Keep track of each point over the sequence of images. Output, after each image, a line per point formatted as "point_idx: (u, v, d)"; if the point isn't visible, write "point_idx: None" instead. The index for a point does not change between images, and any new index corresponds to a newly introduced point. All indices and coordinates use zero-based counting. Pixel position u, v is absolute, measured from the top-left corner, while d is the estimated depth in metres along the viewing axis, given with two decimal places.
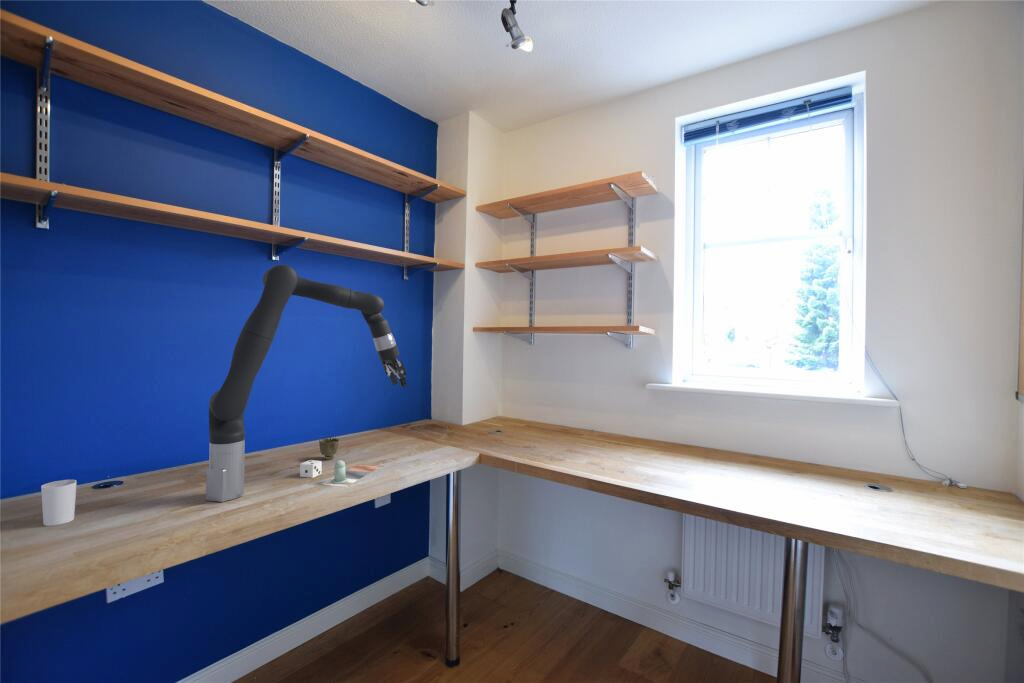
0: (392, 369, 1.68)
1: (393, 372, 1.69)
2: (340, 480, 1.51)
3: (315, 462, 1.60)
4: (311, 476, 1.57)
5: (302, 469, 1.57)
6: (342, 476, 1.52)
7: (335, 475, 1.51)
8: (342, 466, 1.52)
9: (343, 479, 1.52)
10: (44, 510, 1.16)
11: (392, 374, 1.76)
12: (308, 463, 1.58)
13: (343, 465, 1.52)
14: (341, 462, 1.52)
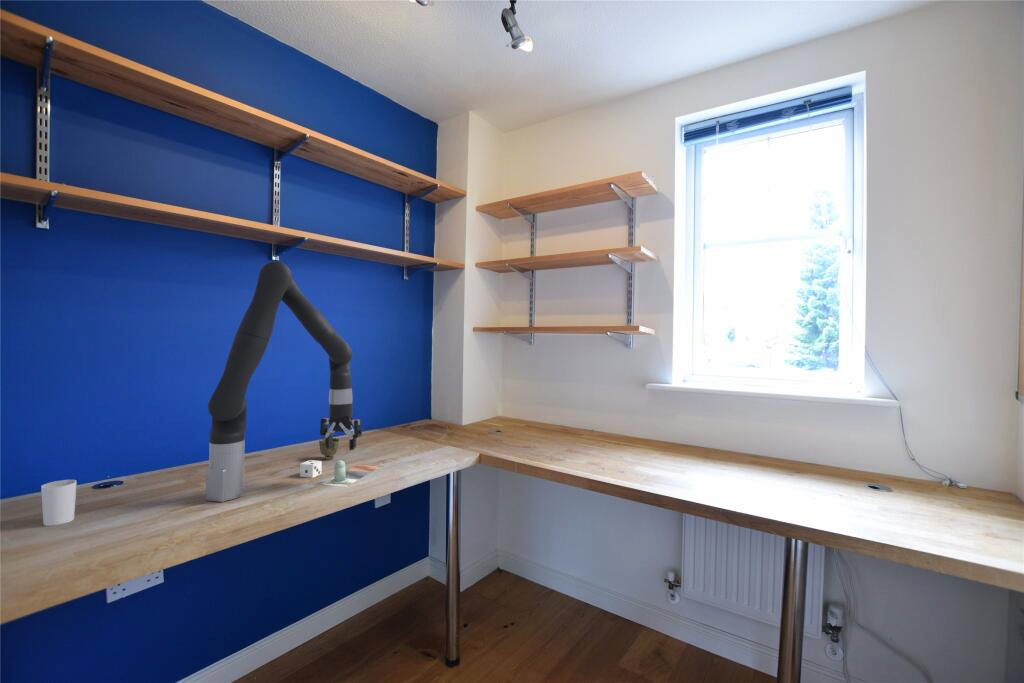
0: (345, 428, 1.50)
1: (344, 431, 1.50)
2: (340, 480, 1.51)
3: (315, 462, 1.60)
4: (311, 476, 1.57)
5: (302, 469, 1.57)
6: (342, 476, 1.52)
7: (335, 475, 1.51)
8: (342, 466, 1.52)
9: (343, 479, 1.52)
10: (44, 510, 1.16)
11: (330, 436, 1.54)
12: (308, 463, 1.58)
13: (343, 465, 1.52)
14: (341, 462, 1.52)
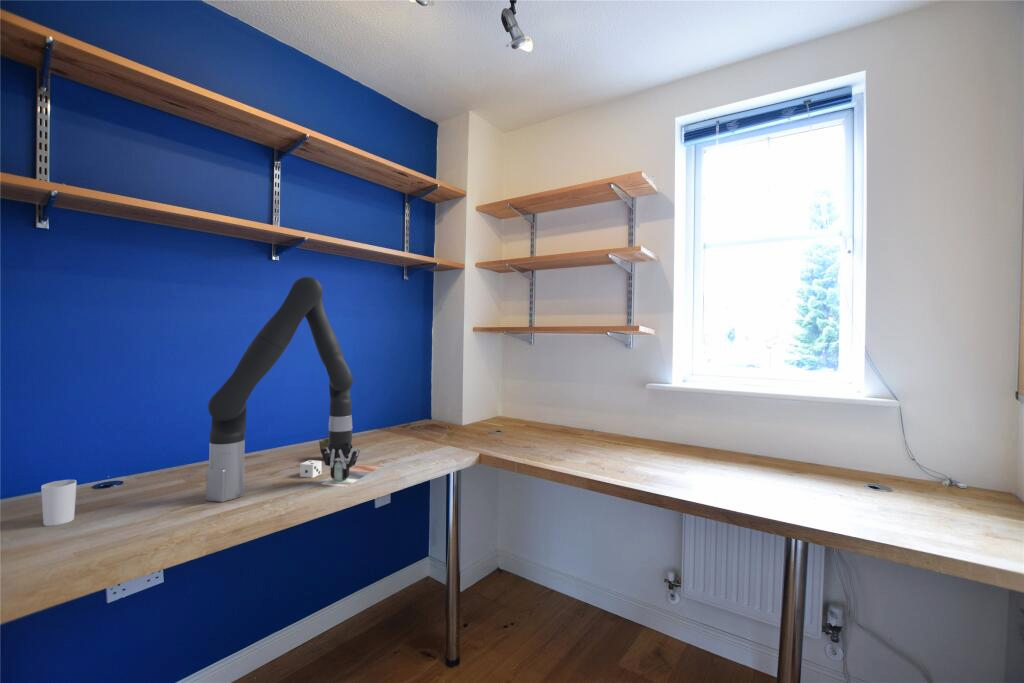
0: (342, 456, 1.51)
1: (341, 459, 1.51)
2: (340, 480, 1.51)
3: (315, 462, 1.60)
4: (311, 476, 1.57)
5: (302, 469, 1.57)
6: (342, 476, 1.52)
7: (335, 475, 1.51)
8: (342, 466, 1.52)
9: None
10: (44, 510, 1.16)
11: None
12: (308, 463, 1.58)
13: None
14: (341, 462, 1.52)
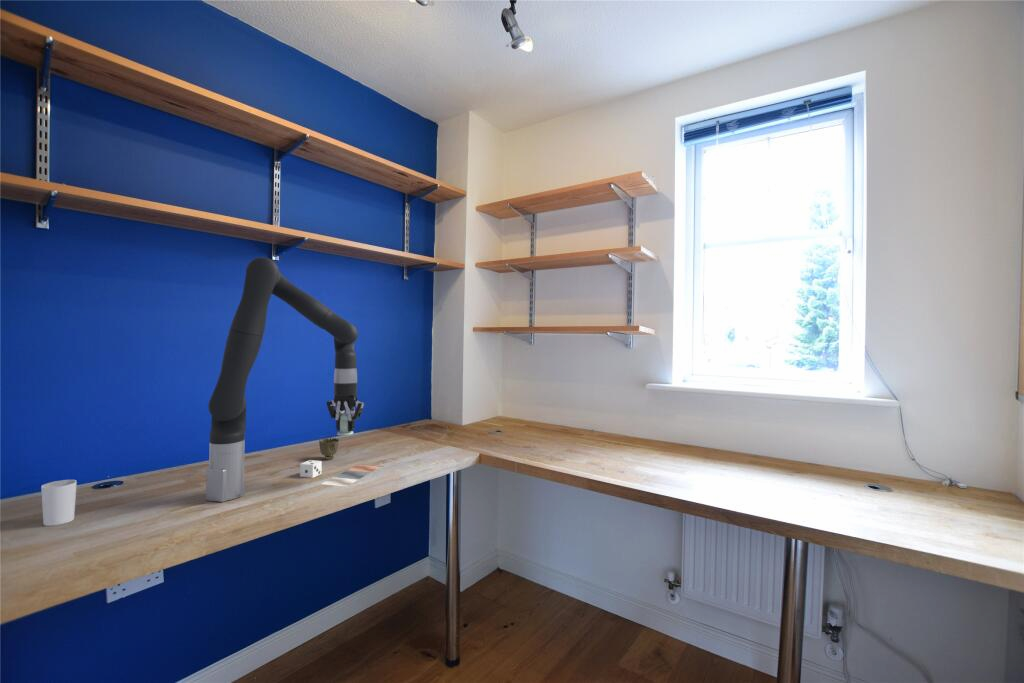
0: (347, 408, 1.53)
1: (346, 411, 1.53)
2: (346, 432, 1.53)
3: (315, 462, 1.60)
4: (311, 476, 1.57)
5: (302, 469, 1.57)
6: (347, 428, 1.54)
7: (341, 427, 1.53)
8: (347, 418, 1.54)
9: None
10: (44, 510, 1.16)
11: None
12: (308, 463, 1.58)
13: None
14: (346, 414, 1.54)
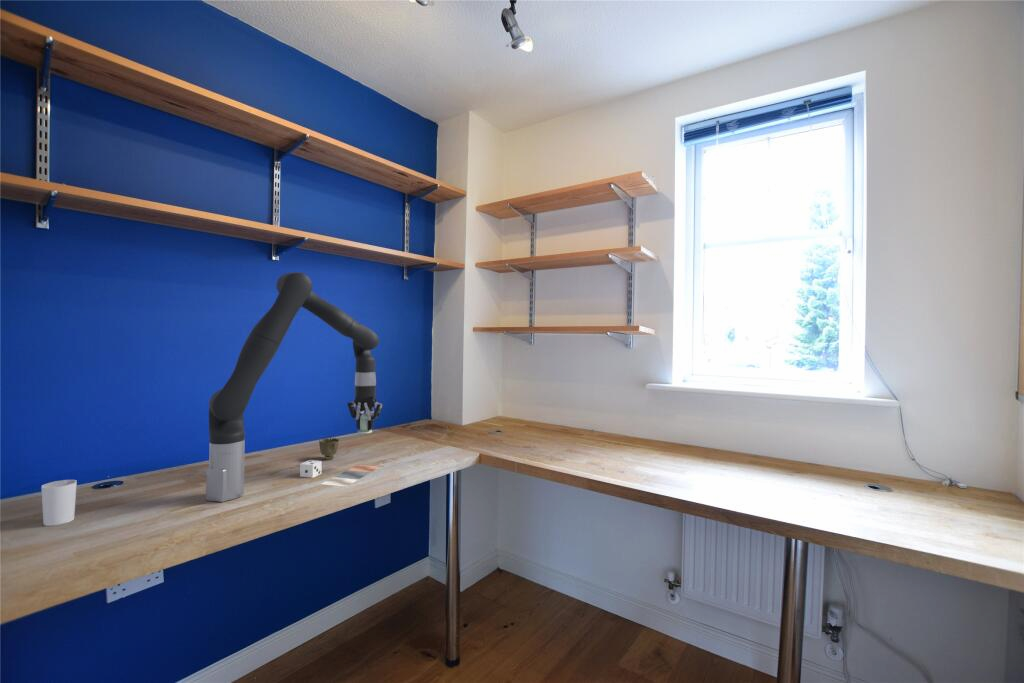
0: (367, 408, 1.66)
1: (366, 411, 1.66)
2: (365, 430, 1.67)
3: (315, 462, 1.60)
4: (311, 476, 1.57)
5: (302, 469, 1.57)
6: (367, 427, 1.67)
7: (361, 426, 1.67)
8: (367, 418, 1.67)
9: (368, 430, 1.67)
10: (44, 510, 1.16)
11: None
12: (308, 463, 1.58)
13: None
14: (366, 414, 1.67)
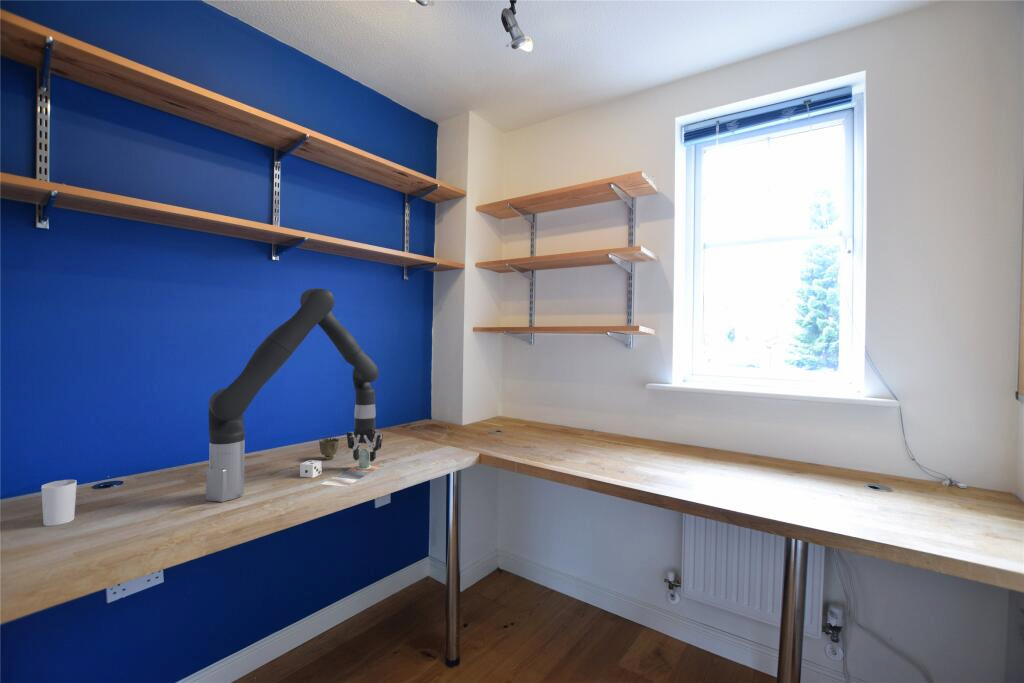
0: (368, 440, 1.66)
1: (367, 443, 1.66)
2: (365, 467, 1.67)
3: (315, 462, 1.60)
4: (311, 476, 1.57)
5: (302, 469, 1.57)
6: (366, 463, 1.67)
7: (360, 462, 1.67)
8: (366, 454, 1.67)
9: (367, 466, 1.68)
10: (44, 510, 1.16)
11: (357, 448, 1.69)
12: (308, 463, 1.58)
13: (367, 453, 1.68)
14: (365, 450, 1.68)
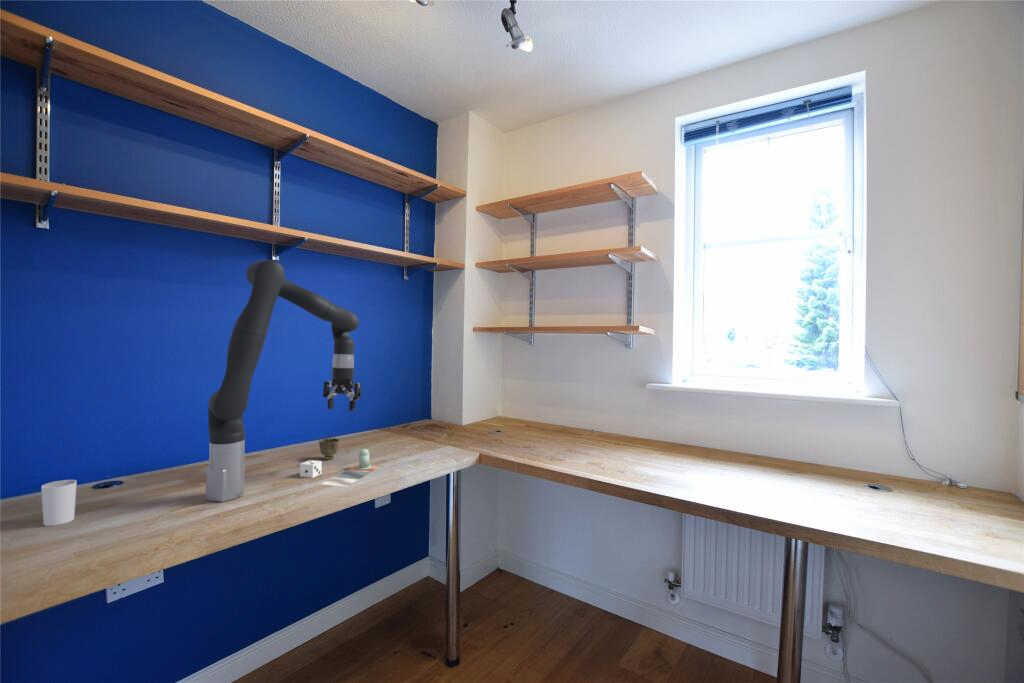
0: (346, 390, 1.64)
1: (345, 393, 1.64)
2: (364, 467, 1.67)
3: (315, 462, 1.60)
4: (311, 476, 1.57)
5: (302, 469, 1.57)
6: (366, 463, 1.67)
7: (360, 462, 1.67)
8: (366, 454, 1.67)
9: (367, 466, 1.68)
10: (44, 510, 1.15)
11: (332, 397, 1.67)
12: (308, 463, 1.58)
13: (367, 453, 1.68)
14: (365, 450, 1.68)
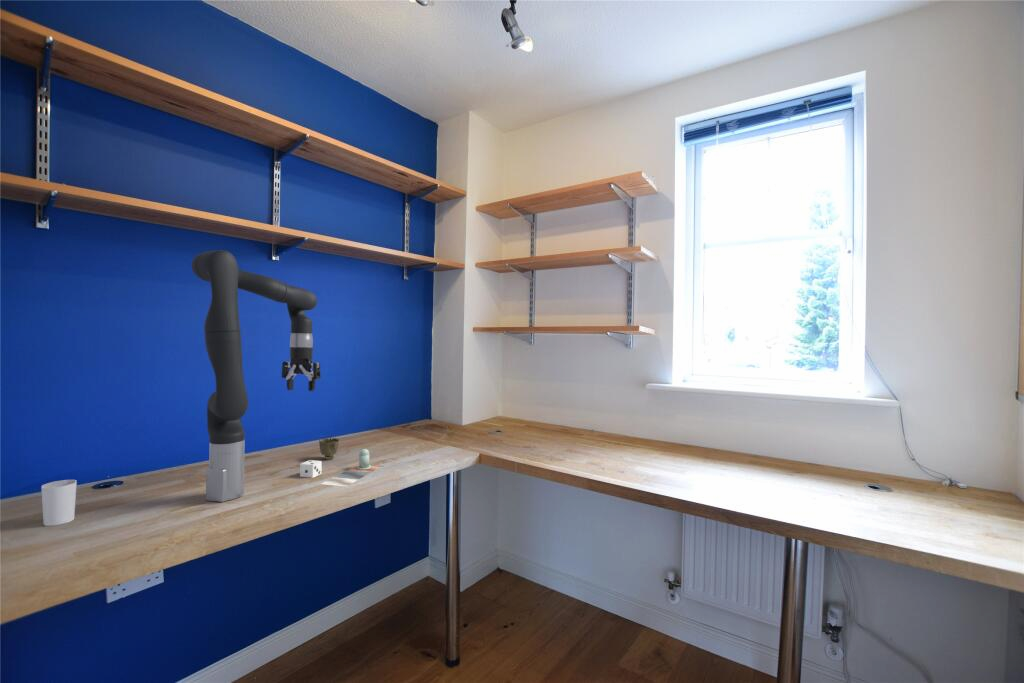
0: (304, 370, 1.60)
1: (304, 373, 1.60)
2: (364, 467, 1.67)
3: (315, 462, 1.60)
4: (311, 476, 1.57)
5: (302, 469, 1.57)
6: (366, 463, 1.67)
7: (360, 462, 1.67)
8: (366, 454, 1.67)
9: (367, 466, 1.68)
10: (44, 510, 1.16)
11: (291, 378, 1.63)
12: (308, 463, 1.58)
13: (367, 453, 1.68)
14: (365, 450, 1.68)
